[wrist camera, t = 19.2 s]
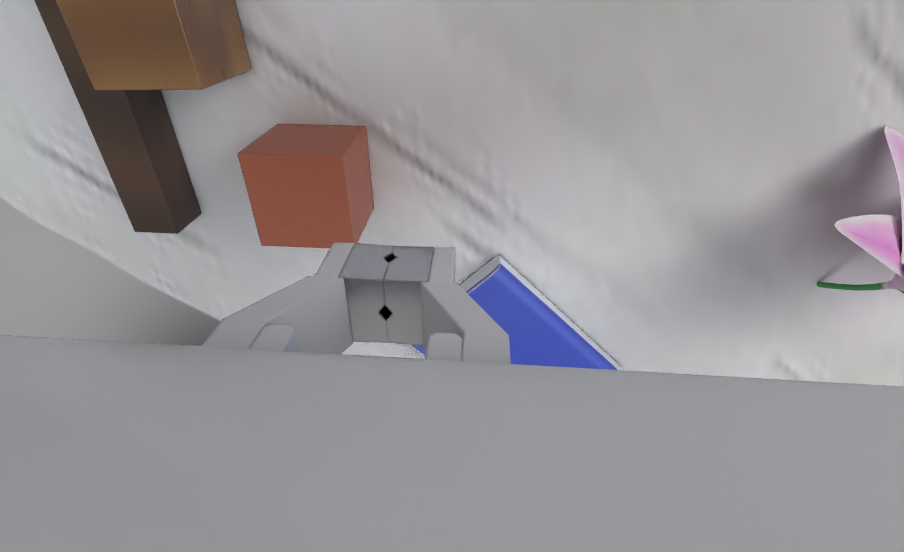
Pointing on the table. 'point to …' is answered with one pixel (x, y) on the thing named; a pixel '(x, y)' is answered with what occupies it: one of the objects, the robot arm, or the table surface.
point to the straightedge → (130, 140)
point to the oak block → (157, 42)
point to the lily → (880, 229)
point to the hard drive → (531, 321)
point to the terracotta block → (309, 184)
